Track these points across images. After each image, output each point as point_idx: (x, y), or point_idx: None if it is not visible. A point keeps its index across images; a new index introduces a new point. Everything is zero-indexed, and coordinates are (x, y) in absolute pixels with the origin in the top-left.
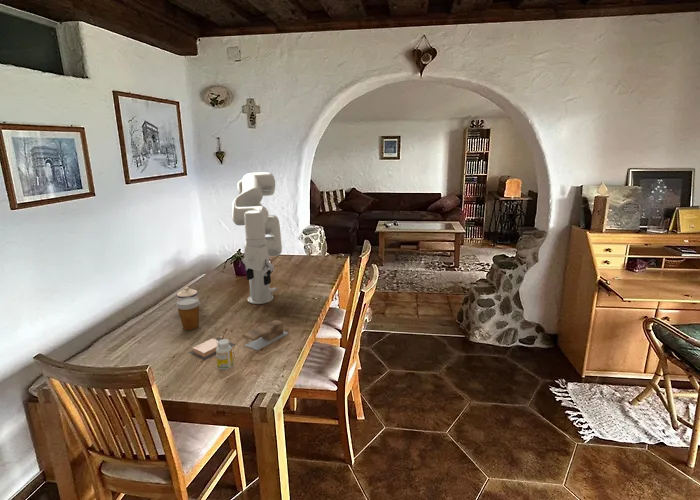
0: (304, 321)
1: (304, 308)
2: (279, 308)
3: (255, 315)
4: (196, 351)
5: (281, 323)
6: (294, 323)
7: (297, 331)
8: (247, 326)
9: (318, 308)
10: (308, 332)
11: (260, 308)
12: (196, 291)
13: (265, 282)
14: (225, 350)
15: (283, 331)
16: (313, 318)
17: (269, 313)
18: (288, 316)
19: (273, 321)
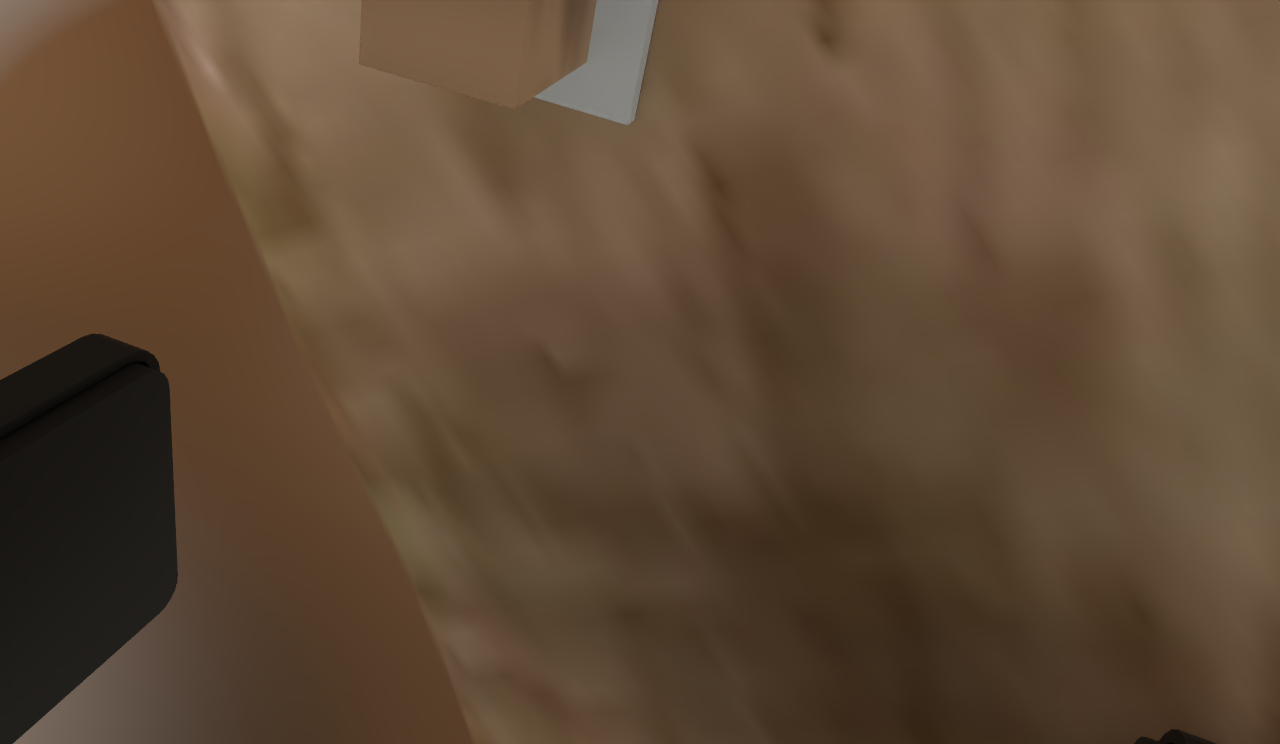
0: (447, 433)
1: (640, 730)
2: (946, 710)
3: (1214, 476)
4: None
5: (368, 28)
6: (522, 360)
7: (359, 165)
8: (1165, 83)
9: (499, 739)
10: (236, 180)
11: (1242, 690)
12: None
13: (9, 405)
14: None
15: None
16: (404, 520)
17: (1013, 565)
18: (704, 522)
19: (501, 25)
